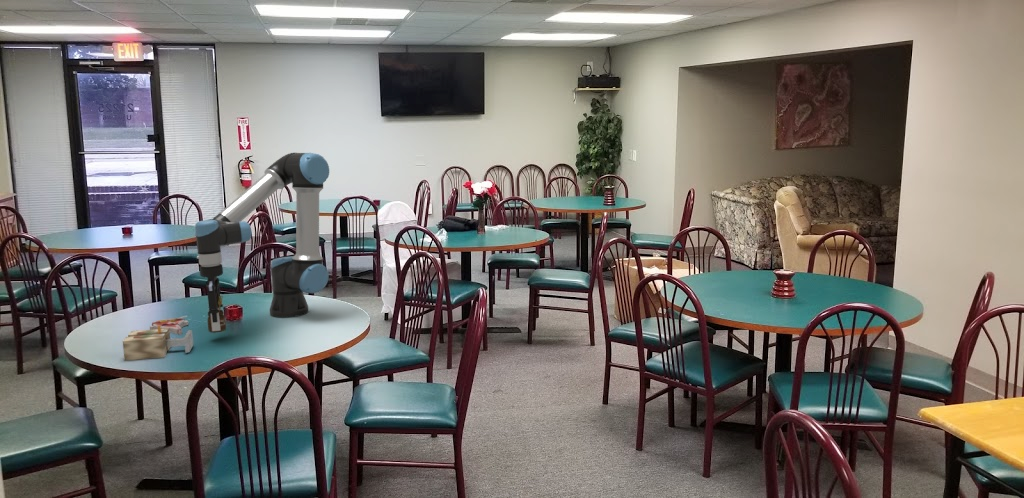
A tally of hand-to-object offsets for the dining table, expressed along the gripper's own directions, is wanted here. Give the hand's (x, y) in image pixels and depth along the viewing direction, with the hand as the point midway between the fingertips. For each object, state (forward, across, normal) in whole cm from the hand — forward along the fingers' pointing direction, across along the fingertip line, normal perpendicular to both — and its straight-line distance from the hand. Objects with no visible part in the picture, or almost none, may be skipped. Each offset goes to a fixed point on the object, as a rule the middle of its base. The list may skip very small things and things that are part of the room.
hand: (217, 328), depth 275 cm
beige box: (+4, +10, -21) cm, 24 cm away
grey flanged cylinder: (+3, +10, -15) cm, 18 cm away
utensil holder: (+1, 0, 0) cm, 1 cm away
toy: (+5, -20, -19) cm, 28 cm away
